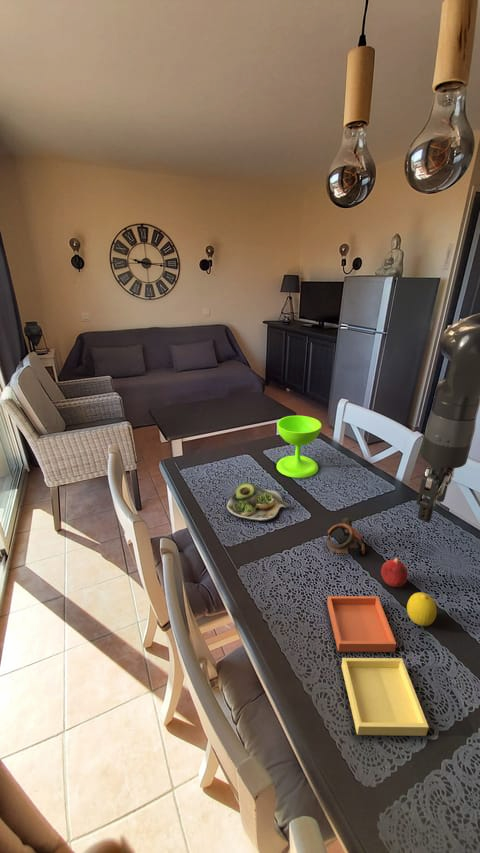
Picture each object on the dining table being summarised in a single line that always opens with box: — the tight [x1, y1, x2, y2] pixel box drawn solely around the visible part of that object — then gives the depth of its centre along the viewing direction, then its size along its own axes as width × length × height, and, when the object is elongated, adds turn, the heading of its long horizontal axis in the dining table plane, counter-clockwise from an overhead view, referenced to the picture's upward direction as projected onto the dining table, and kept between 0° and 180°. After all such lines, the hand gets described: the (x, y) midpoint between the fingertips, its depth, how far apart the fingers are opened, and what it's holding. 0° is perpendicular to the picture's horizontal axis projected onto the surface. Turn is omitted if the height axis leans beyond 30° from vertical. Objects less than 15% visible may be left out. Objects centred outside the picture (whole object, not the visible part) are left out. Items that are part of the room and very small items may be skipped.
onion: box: [380, 557, 409, 588], centre depth 85 cm, size 6×6×8 cm
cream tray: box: [341, 657, 430, 737], centre depth 64 cm, size 11×11×2 cm
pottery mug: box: [326, 517, 366, 556], centre depth 98 cm, size 12×10×8 cm
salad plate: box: [225, 482, 290, 522], centre depth 116 cm, size 19×18×5 cm
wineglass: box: [276, 415, 322, 479], centre depth 135 cm, size 16×16×18 cm
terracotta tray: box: [326, 595, 397, 653], centre depth 77 cm, size 11×11×2 cm
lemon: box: [406, 591, 438, 627], centre depth 76 cm, size 6×6×8 cm
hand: (431, 509), depth 72 cm, fingers open, 8 cm apart
